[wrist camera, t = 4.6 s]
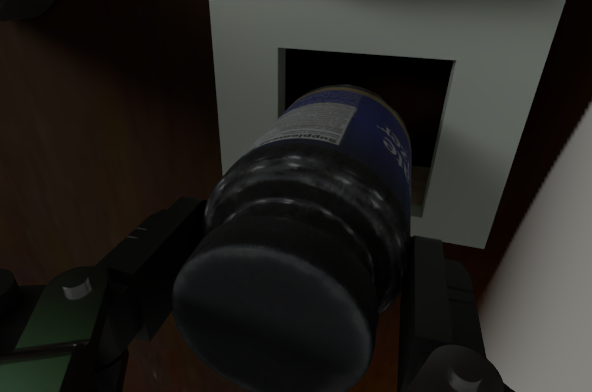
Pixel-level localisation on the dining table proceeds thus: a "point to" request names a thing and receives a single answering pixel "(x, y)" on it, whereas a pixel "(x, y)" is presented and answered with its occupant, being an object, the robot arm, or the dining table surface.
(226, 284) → the pill bottle
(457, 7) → the lid
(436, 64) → the dining table surface
